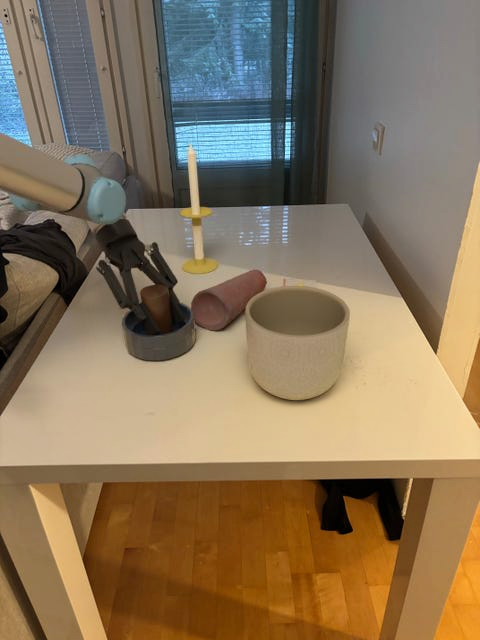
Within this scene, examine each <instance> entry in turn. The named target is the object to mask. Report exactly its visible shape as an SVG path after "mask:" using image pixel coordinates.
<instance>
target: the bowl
mask: <svg viewBox="0 0 480 640" xmlns="http://www.w3.org/2000/svg"><path fill="white" fill-rule="evenodd" d="M178 306H179V307H180V309H181V311H182V313H183V314H184V316H185V319H184V320H183V321H182V322H181V323H179V324H177V322H176V320H175V319H174V317H173V315H172V314H171V315H172V323H173V332H171V333H167V334H164V335H154V336H150V335H146V329H145V323H144V321H143V322H140V321H139V320H138V318H137V316H136V315H135V313H134V311H133V310H130V309H129V310H128V311H127V312H125V314H124V315H123V317H122V319H121V329H122V334H123V339H124V345H125V348H126V350H127V352H128V353H129V354H131V355H132V356H133V357H136V358H138V359H141V360H145V361H162V360H163V361H164V360H169V359H172V358H173V359H174V358H176V357H179V356H181V355H182V354H184V353H186V352H188V351H189V350H190V349H191V348H192V347H193V346H194V344H195V342H196V327H195V319H194V315H193V311H192V310H191V306H188V305H187V304H184V303H182V302H180V304H179V305H178Z"/></svg>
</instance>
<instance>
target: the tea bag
mask: <svg viewBox="0 0 480 640" xmlns="http://www.w3.org/2000/svg"><path fill="white" fill-rule="evenodd" d="M282 284H283V285H282V286H307V287H313V288H317V280H316V279H315V280H314V279H300V278H299V279H297V278H283V283H282Z"/></svg>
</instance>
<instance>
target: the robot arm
mask: <svg viewBox="0 0 480 640" xmlns="http://www.w3.org/2000/svg"><path fill="white" fill-rule="evenodd" d="M0 192H3V193H6V194H7V195H8V198H9V201H10V202H11V204H12V205H13V206H14V208H15V209H17V210H19V211H22V212H33V213H37V212H40V211H46V212H51V213H54V214H59V215H63V216H66V217H67V216H68V217H72V218H76V219H80V220H84V221H85V223H86V224H87V227H88V228H89V230H90V232H91V234H92V235H93V236H94V238H95V240H96V242H97V244H98V246H99V247H100V249H101V251H102V252H103V253H104V259H100V260H99V261H98V263H97V264H96V267H95V270H96V271H97V272H98V273H99V274H100V275H101V276H103V278H104V280H105V282H106V284H107V286H108V288H109V290H110V291H111V293H112V295H113V297H114V299H115V301H116V303H117V305H118V307H119V309H122V310H124V309H128V310H129V311H130V310H133V311H134V313H135V315H136V316H137V318H138V320H139V321H140V322H143V321H144V322H145V324H146V326H147V328H148V329H149V331H150V333H151V334H152V336H154V335H156V334H157V333H158V332H159V331H160V329H159V327H158V325H157V323H156V322H155V320H154V318H153V316H152V315H151V313H150V311H149V310H148V308H147V306H146V304H145V303H144V301H143V302H141V301H140V300H139V296H138V292H137V288H136V285H135V281H134V278H133V274H132V269H137V270H138V271H139V272H142V273H143V275H145V276H146V277H147V278H148V279H149V280H150V281H151V282H152V283H153V285H163V286H166V287H167V288H168V289H169V298H170V306H171V314H172V315H173V317H174V319H175V320H176V322H177V324H179V323H181V322H182V321H183V320H184V319H185V316H184V314H183V313H182V311H181V309H180V307H179V306H178V305H179V304H180V303H181V302H180V299H179V298H178V296H177V294H176V293H175V291H174V288H175V287H176V285H177V284H178V282H179V281H178V279H177V277H176V276H175V274H174V273H173V271H172V269H171V267H170V266H169V265H168V263H167V261H166V260H165V258H164V257H163V255H162V253H161V252H160V249H159V244H158V243H157V242H156V241H153V242H152V243H151V244H145V243H144V242H143V241H141V239H139V237H138V234H137V231H136V230H135V228H134V227H133V225H132V224H131V222H130V220H129V219H127V214H126V213H125V210H126V206H127V195H126V192H125V190H124V188H123V186H122V185H121V184H120V183H119V182H118V181H116V180H114V179H110V178H108V177H106V176H104V175H103V173H102V170H101V169H99V168H98V166H97V165H96V164H95V162H94V160H93V159H92V158H91V157H90V156H89V155H87V154H83V153H78V154H75V155H73V156H72V155H70V156H68V157H66V158H64V159H63V160H61V159H59V158H56V157H54V156H52V155H50V154H48V153H46V152H44V151H42V150H40V149H37V148H35V147H33V146H31V145H29V144H27V143H25V142H22V141H21V140H17V139H15V138H14V137H12V136H9V135H7V134H5V133H3V132H1V131H0ZM145 254H146V255H147V256H148V257H149V258H150V259H149V258H148V257H147V256H146V255H145ZM151 261H152V263H151ZM112 266H114V267H115V268H117V269H118V272H119V276H120V278H121V280H122V284H123V287H122V285H121V282H120V281H119V278H117V275H116V273H115V272H114V270H113V269H112Z"/></svg>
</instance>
